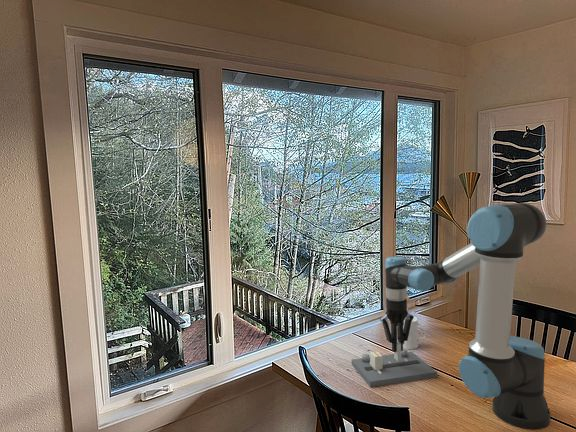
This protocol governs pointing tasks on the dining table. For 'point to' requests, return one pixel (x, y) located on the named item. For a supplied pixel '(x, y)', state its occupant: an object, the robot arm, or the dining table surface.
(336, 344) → the dining table surface
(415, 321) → the mug
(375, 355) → the fader tab
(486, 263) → the robot arm
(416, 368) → the console board
